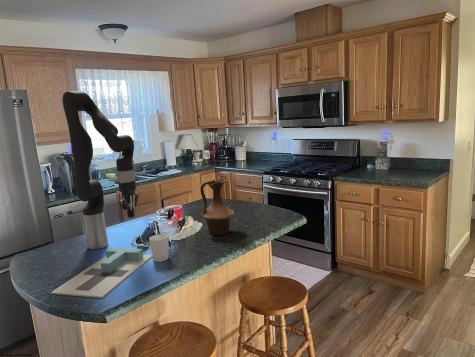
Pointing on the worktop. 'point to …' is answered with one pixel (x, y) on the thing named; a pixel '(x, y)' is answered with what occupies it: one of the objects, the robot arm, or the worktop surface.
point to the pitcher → (216, 209)
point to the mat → (99, 279)
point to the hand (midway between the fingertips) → (131, 217)
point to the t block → (120, 258)
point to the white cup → (159, 247)
